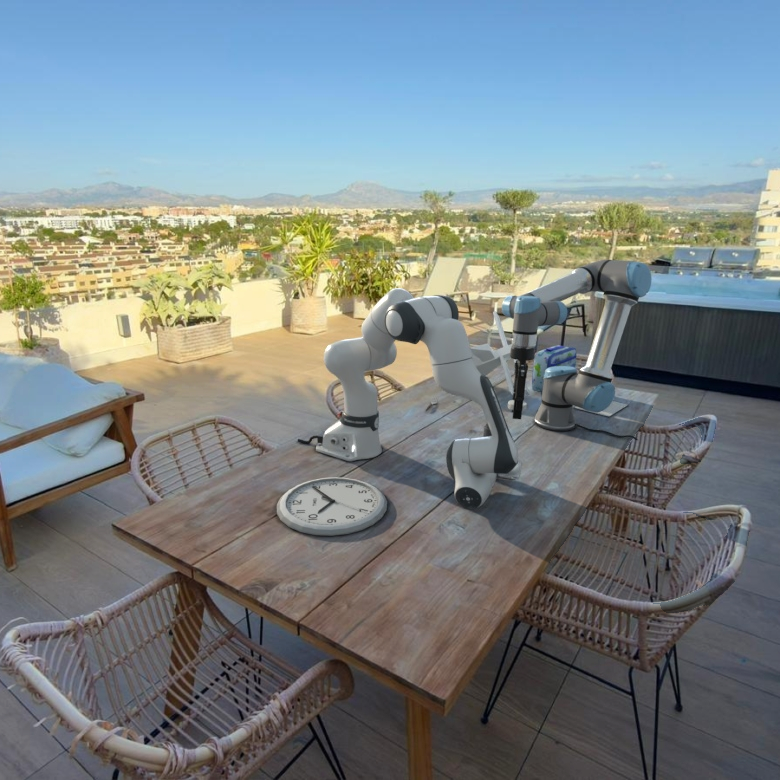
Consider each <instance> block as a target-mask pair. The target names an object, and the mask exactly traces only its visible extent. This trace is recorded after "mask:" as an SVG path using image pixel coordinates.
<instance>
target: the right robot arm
mask: <svg viewBox="0 0 780 780" xmlns="http://www.w3.org/2000/svg"><path fill="white" fill-rule="evenodd" d="M652 280H653V279H652V273H651V269H650V267H649V266H648V264H646V263H644V262H642V261H635V260H619V259H599V260H596V261H593V262H590V263H587V264H584V265H582V266H579V267H576V268H575V269H574V270H572V272H571V273H570V274H567V275H565V276H563V277H560V278H558V279H557V280H555V281H554V280H553V281H551V282H549V283H547V284H544V285H542V286H539V287H537V288H535V289H533V290H530V291H527V292H526V293H524V294H521V295H519V296H518V295H508V296H506V297H505V298H504V299H503V301H502V303H501V311H502V314H503V315H504V316H505V317H507V318H510V319H512V320H513V322H512V334H510V335H509V338H510V339H511V344H512V345H513V346H512V347H511V352H510V357H511V358H513V359H515V360H516V363H514V380H513V385H514V386H513V388H514V390H513V391H514V392H515V393H513V395H512V400H514V408H513V410H511V413H512V420H522V415H523V411H522V407H523V401H525V383H526V384H527V375H528V371H529V365H528V361H534V359H535V356H536V348H535V347H536V346H537V342H538V341H537V340H538V330H539V327H546V326H556V325H560V324H563V323H564V322H565V321H566V319H567V317H568V307H567V305H566V304H565V303H564V302H563V301H566V300H568V299H570V298H572V297H574V296H577V295H578V294H581V295H585V294H587V293H591V292H599V293H603V294H602V297H603V298H604V301H605V303H604V306H603V308H602V312H601V315H600V319H599V321H598V323H597V324H598V325H597V328H596V331H595V334H594V337H593V340H592V343H591V345H590V350H589V353H588V356H587V359H586V362H585V365H584V366H583V367H581V368H579V370H578V369H577V367H576V366H575V367H570V366H555V367H549V368H547V369H546V370H545V375H544V378H543V379H544V380H543V391H542V393H541V402H540V405H539V407H538V409H537V411H536V413H535V416H534V424H535V425H536V426H537V427H539V428H542V429H544V430H549V431H556V432H567V431H572V430H574V429H575V428H576V427H578V428H582V429H584V430H586V431H590V432H599V433H605V434H607V435H610V436H613V437H615V438H620V439H621V438H622V439H623V438H632V439H633V440H635V441H639V439H638V438H637V437H636V436H634V435H631V434H628V435H627V434H626V435H619V434H615V433H612V432H610V431H607V430H603V429H595V428H588V427H586V426H583V425H580V424H578V423H576V418H575V417H576V416H575V413H574V407H576V406H577V407H580V408H583V409H585V410H587V411H586V412H588V411H592V412H601V411H603V410H605V409H606V408H607V407H608V406H609V405H610V404H611V402H612V401H614V398H615V395H616V387H615V385H614V384H613V383H612V381H613V376H612V374H611V370H612V367H613V363H614V360H615V358H616V355H617V351H618V349H619V345H620V342H621V339H622V337H623V333H624V330H625V327H626V324H627V321H628V318H629V314H630V311H631V309H632V307H633V306H635V305H637V304H638V302H639V300H640V298H644V297H645V296H646V295H647V294H648V293H649V292H650V289H651V286H652ZM513 359H512V360H513ZM573 406H574V407H573ZM592 412H591V413H592Z"/></svg>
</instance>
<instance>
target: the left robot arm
mask: <svg viewBox="0 0 780 780" xmlns="http://www.w3.org/2000/svg"><path fill="white" fill-rule="evenodd" d="M459 317H460V313H459V308H458V305H457V303H456V302H455V300H454V299H453V298H451V297H450V296H448V295H444V294H443V295H442V294H434V295H426V296H418V297H415V298H414V296H413V295H412V293H410V292H409V291H408V290H406V289H404V288H399V287H398V288H397V287H396V288H393V289H391V290H389V291H387V293H385V294H384V295H383V296H382V297H381V298H380V299H379V300H378V301H377V303H376V304H374V306H373V308H371V310H370V311H369V313H368V315H367V316H366V317H365V319H364V320H363V322H362V323H361V328H360V330H361V337H355V338H354V337H353V338H348V339H341V340H337V341H335V342H333V343H330V344H328V345H327V346H326V347H325V349H324V352H323V363H324V366H325V368H326V370H327V371H329V373H330V374H332V375H333V376H335V378H337V379H338V381H339V383H340V385H341V388H342V392H343V404H344V405H343V407H344V408H343V409H342V410H340V411H339V413H337V417H336V418H339V420H337V421H336V422H335V423H333V424H332V425H330V426H329V427H328V428H326V430H322V431H321V432H320V433H319V434H316V435H312V436H310V437H309V439H308V440H304V439H300V438H298V439H297V442H298V443H301V444H306V445H307V444H308V445H309V444H311V443H312V441H313V440H314V439H317V441H316V442H317V444H316V447H315V452H318V453H322V454H324V455H328V456H331V457H334V458H337V459H340V460H343V461H347V462H353V461H357V460H367V459H372V458H376V457H377V456H379V455H380V454H381V453H382V452H383V449H382V445H381V441H380V433H379V427H380V412H379V410H378V409H379V407H378V406H379V405H378V404H379V401H378V400H379V398H378V397H379V394H378V393H379V392H378V389H377V387H376V386H375V385H374V384H373V383H371V382H370V381H368V380H366V378H365V372H371V371H376V370H380V369H383V368H386V367H388V366H390V365H392V364H394V362H395V361H396V359H397V354H398V350H397V346H396V343H395V342H396V341H398V342H404V343H409V344H412V345H417V344H418V343H419V342H422V343H423V344H425V346H426V347H427V350H428V354H429V355H428V356H429V360H430V361H429V362H430V367H431V372H432V376H433V379H434V382H435V384H436V385H437V387H439V389H441V390H442V391H444V392H445V393H448V394H449V395H451V396H456V397H460V398H465V399H467V400H470V401H473V402H474V403H476V404H477V405H478V406H480V408H481V409H482V411H483V414H484V417H485V420H486V422H487V423H488V425H489V428H490V431H491V434H492V436H487V437H484V436H478V437H463V438H455V439H454V440H453V441H452V442H451V443H450V445H449V447H448V449H447V452H446V455H445V460H446V467H447V471H448V473H449V475H450V476H451V478H452V480H453V481H454V482H455V483H454V493H453V494H454V500H455V501H456V502H457V504H458V505H460V506H461V507H463V508H464V509H469V510H473V509H478V508H481V506H483V505H484V504H485V503H486V502H487V499H488V498H489V496H490V494H491V492H492V489H493V487H494V485H495V483H496V481H497V480H502V481H507V482H515V481H516V480H519V479H520V477H521V473H522V466H523V463H522V462H521V461H519V450H518V447H517V444H516V443H515V440H514V438H513V435H512V433H511V431H510V429H509V426H508V424H507V421H506V418H505V415H504V412H503V410H502V406H501V405H500V402H499V399H498V396H497V394H496V391H495V388H494V386H493V384H492V382H491V380H490V378H489V377H488V376H487V375H486V376H484V375H482V374H481V373H480V372H479V371H478V370H477V368H476V366H475V364H474V361H473V357H472V351H471V347H472V346H471V344H470V340H469V337H468V334H467V331H466V329H465V326H464V325H463V323H462V322H461V321H460V320H459Z"/></svg>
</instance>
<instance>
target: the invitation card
mask: <svg viewBox="0 0 780 780" xmlns="http://www.w3.org/2000/svg"><path fill="white" fill-rule="evenodd" d="M628 406H629V404H627V403H623V402H618V401H614V400H613V401H612V402H611V404H610V405H609V406H608V407H607V408H606V409H605V410H603V411H601V412H592V411H587V410H585V409H583V408H580V407H577V406H574V407H573V409H575V410H581V411H584V412H587V413H593V414H596V415H600V416H604V417H608V418H609V417H611V416H613V415H614V414H616V413H617V412H619V411H621V410H623V409H624V408H626V407H628Z"/></svg>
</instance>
